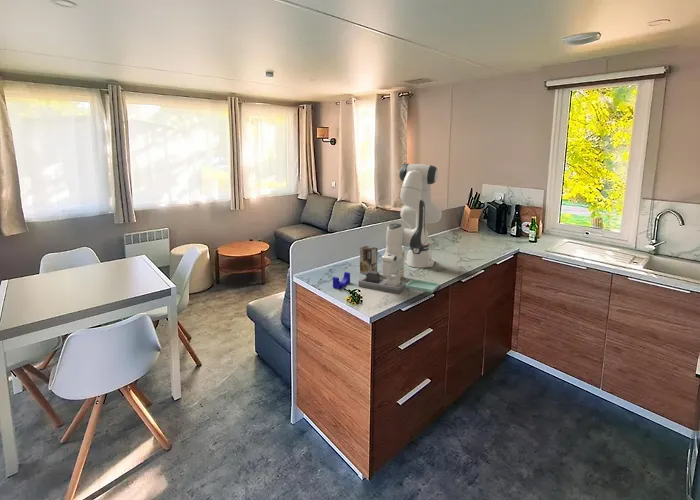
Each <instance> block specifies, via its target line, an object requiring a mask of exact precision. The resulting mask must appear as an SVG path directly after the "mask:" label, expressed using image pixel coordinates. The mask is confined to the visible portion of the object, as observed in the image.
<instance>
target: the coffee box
mask: <svg viewBox="0 0 700 500" xmlns="http://www.w3.org/2000/svg"><path fill="white" fill-rule="evenodd" d="M369 271H375V272H378V247H376V246H375V247H374V246H369V245H368V246H367V245H364V246H362V247H359V274H363V275H366V274H367V273H368V272H369Z"/></svg>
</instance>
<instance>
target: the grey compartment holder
mask: <svg viewBox="0 0 700 500" xmlns="http://www.w3.org/2000/svg"><path fill="white" fill-rule="evenodd" d="M365 275H366V276H364V277H362V278H361V279H359V280H358V287H360V288H366V289H372V290H375V291H376V290H377V291H383V292H387V293H391V294H397V295H399V294H401V293H402V292H403V291H404V290H405V289H407V288H406V284H407V282H405V281H400V285H399V286H398V287H393V286H387V285H386V278H381V277H380V276H381V275H380V272H379V271H377V272H375V271H369V272H368V273H367V274H365Z"/></svg>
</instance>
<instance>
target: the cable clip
mask: <svg viewBox="0 0 700 500" xmlns="http://www.w3.org/2000/svg"><path fill="white" fill-rule="evenodd" d="M350 283H351V272H347V271H345V272H344V273H343V277H342V280H340V278H339V277H337V276H333V277H332V288H333V289H336V290H341V289H343V288H346V287H347V285H348V284H350Z"/></svg>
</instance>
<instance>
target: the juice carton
mask: <svg viewBox="0 0 700 500" xmlns="http://www.w3.org/2000/svg"><path fill="white" fill-rule="evenodd" d="M405 247H406V246H402V255H403V267H402V268H400V271H399V277H400V279H402V278H404V275H405V258H406V257H405V254H406V250H405V249H406V248H405ZM393 275H395V273H393Z"/></svg>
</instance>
